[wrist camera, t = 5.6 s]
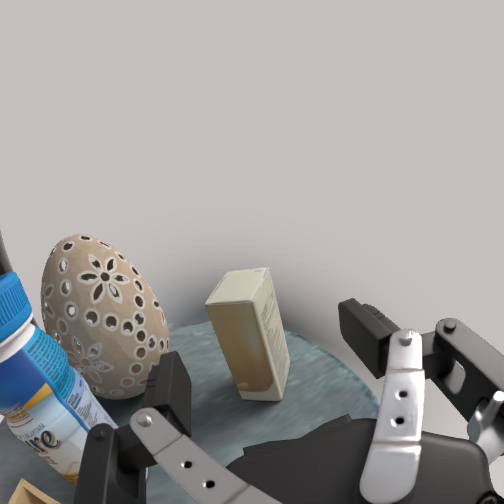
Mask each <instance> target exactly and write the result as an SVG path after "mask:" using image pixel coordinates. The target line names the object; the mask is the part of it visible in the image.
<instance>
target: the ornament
mask: <svg viewBox="0 0 504 504" xmlns="http://www.w3.org/2000/svg"><path fill="white" fill-rule="evenodd" d="M84 236H88V237H84ZM68 242H72V244H69V243H68ZM103 244H104V245H106V246H108V247H109V248H107V247H105V246H104V245H103ZM55 247H56V250H55V252H53V250H54V249H55V248H53V250H52V252H51V254H50V256H49V258H48V260H47V262H46V266H45V269H44V273H43V277H42V287H41V307H42V317H43V322H44V326H45V330H46V333H47V334H48V335H49V336H51V337H52V338H53V339H54V340H55V339H56V340H57V343H58V342H59V340H60V344H59V343H58V344H59V345H60V346H61V347H62V348H63V349H64V351H65V352H66V354H67V356H68V362H69V366H71V367H73V368H74V369H76V370H77V368H78V367H80V368H82V369H83V373H80V372H79V371H78V370H77V371H78V372H79V373H80V374H81V375H82V377H83V378H84V379H85V381H86V382H87V384H88V386H89V388H90V391H91V392H93V394H94V393H95V395H97V396H100V397H103V398H108V399H127V398H131V397H135V396H138V395H140V394H142V393H143V392H145V389H146V383H147V379H148V374H149V372H150V371H151V369H152V368H153V367H154V366H156V365H159V361H160V356H161V354H164V353H168V352H169V351H170V345H169V332H168V327H167V323H166V319H165V316H164V313H163V311H162V308H161V307H160V304H159V302H158V300H157V298H156V296H155V294H154V293H153V291H152V290H151V288H150V286H149V285H148V283H147V282H146V281H145V279H144V278H143V277H142V276H141V274H140V273H139V272H138V271H137V269H136V268H135V267H134V266H133V265H132V264H131V263H130V262H129V260H127V259H126V258H125V257H124V256H123V255H122V254H121V253H120V252H118V251H117V250H116V249H114V248H113V247H112V246H110V245H109V244H107V243H105V242H103V241H101V240H100V239H98V238H95V237H93V236H90V235H83V234H76V235H72V236H70V237H67V238H65V239H63V240H61V241H60V242H59V243H58V244H57V245H56V246H55ZM118 254H120V255H118ZM90 256H92V257H94V258H95V259H96V261H95V262H91V257H90ZM119 257H120V258H119ZM123 259H125V260H123ZM62 260H65V262H66V267H65V270H63V269H62V267H61V263H62ZM113 260H114V267H113ZM97 267H100V268H101V271H100V270H99V269H98V268H97ZM116 275H117V277H116V278H112V277H113V276H116ZM123 276H124V277H125V278H126V279H127V281H125V282H124V281H123V279H122V277H123ZM79 277H82V278H79ZM88 279H94V280H91V281H88ZM66 282H67V283H69V287H70V289H69V291H68V290H67V288H66ZM110 284H111V285H113V287H114V288H115V289H116V295H115V294H114V293H113V292H112V291H111V289H110ZM135 284H137V285H139V287H140V290H139V289H138V288H137V287H136V285H135ZM43 287H44V288H43ZM117 296H118V297H120V300H117V299H116V298H115V297H117ZM45 303H47V307H46V306H45ZM142 303H143V305H142ZM70 307H74V308H75V313H74V314H73V315H71V314H70V313H69V308H70ZM43 312H44V314H43ZM139 313H140V314H141V315H142V316H143V318H141V317H140V316H139ZM44 315H45V319H44ZM88 319H90V320H92V322H93V324H91V323H90V322H88V321H87V320H88ZM135 319H136V320H137V321H138V324H137V323H136V321H135ZM112 325H113V326H115V327H114V328H110V326H112ZM125 329H129V330H130V332H131V333H128V334H127V333H125V332H124V330H125ZM55 333H57V336H55ZM152 338H154V339H155V343H154V342H153V340H152ZM149 340H150V341H151V343H150V344H149V345H148V343H149ZM76 341H77V342H78V343H79V344H80V346H79V345H78V344H77V342H76ZM159 344H161V345H162V348H163V350H160V348H159ZM97 345H98V348H99V351H98V350H96V349H95V348H94V347H95V346H97ZM154 345H155V346H154ZM153 346H154V347H153ZM78 351H79V352H80V353H81V354H82V356H81V355H80V353H79V352H78ZM90 353H93V354H96V356H94V357H92V358H90V357H89V354H90ZM99 363H100V364H102V367H101V368H100V369H98V368H97V364H99ZM93 387H95V389H96V390H94V389H93Z"/></svg>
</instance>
